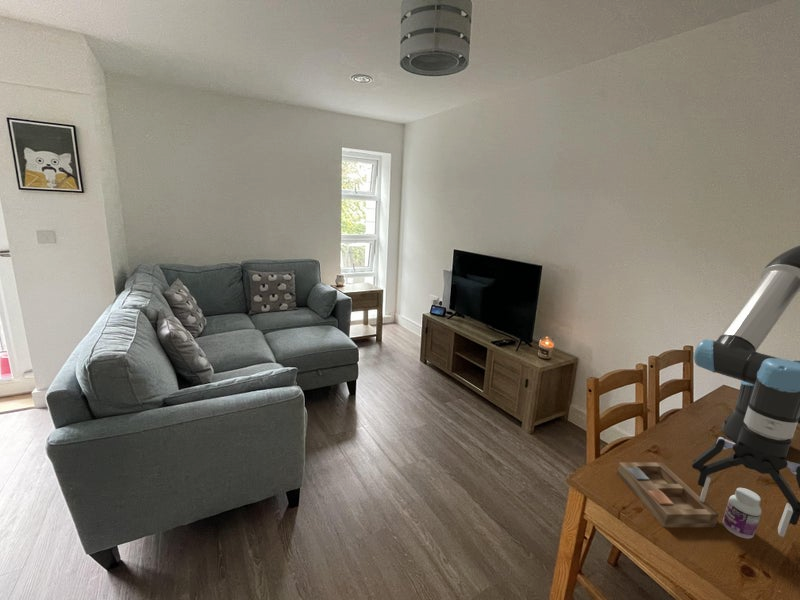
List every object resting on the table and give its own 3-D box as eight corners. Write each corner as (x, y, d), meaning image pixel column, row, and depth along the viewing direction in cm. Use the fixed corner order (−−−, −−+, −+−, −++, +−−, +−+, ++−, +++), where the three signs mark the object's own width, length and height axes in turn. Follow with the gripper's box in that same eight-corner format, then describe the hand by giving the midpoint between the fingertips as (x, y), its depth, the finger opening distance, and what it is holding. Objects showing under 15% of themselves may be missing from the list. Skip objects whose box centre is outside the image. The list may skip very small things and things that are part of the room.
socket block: (659, 473, 100) (662, 461, 99) (715, 527, 83) (719, 512, 82) (617, 473, 100) (619, 461, 99) (664, 527, 83) (667, 512, 82)
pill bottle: (715, 520, 85) (725, 485, 83) (736, 519, 85) (746, 484, 83) (738, 540, 80) (749, 503, 77) (760, 539, 80) (772, 502, 78)
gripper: (691, 413, 82) (670, 493, 88) (861, 468, 66) (823, 562, 71) (695, 402, 88) (675, 478, 93) (852, 450, 72) (817, 538, 77)
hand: (739, 514), depth 82 cm, fingers open, 12 cm apart
